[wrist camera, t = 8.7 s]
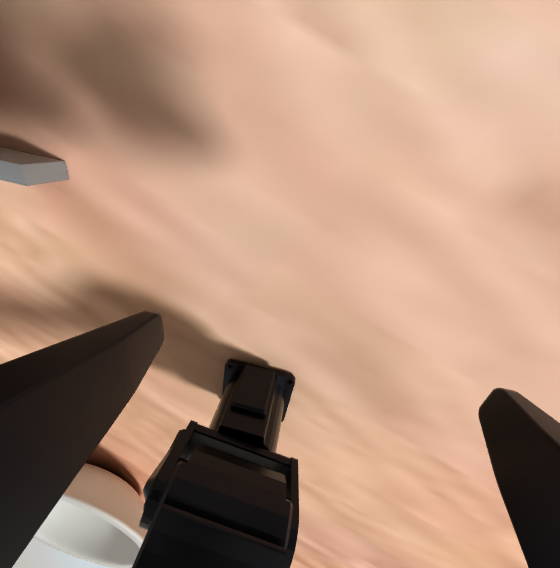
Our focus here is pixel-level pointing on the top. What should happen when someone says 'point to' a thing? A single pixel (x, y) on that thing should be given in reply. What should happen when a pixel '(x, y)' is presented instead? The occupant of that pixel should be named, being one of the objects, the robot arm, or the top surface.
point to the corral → (30, 168)
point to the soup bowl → (96, 520)
